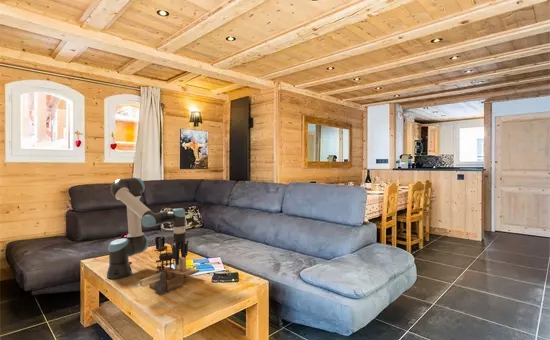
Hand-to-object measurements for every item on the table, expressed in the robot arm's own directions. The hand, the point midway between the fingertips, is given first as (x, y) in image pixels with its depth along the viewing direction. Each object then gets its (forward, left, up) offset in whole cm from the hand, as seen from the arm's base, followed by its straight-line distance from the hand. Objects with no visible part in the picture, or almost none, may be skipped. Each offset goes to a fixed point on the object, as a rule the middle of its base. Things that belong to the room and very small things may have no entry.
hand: (180, 268), depth 203 cm
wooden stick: (+7, -27, +2) cm, 28 cm away
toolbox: (+3, -16, -6) cm, 17 cm away
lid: (+3, 0, -2) cm, 4 cm away
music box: (-13, 0, -7) cm, 15 cm away
